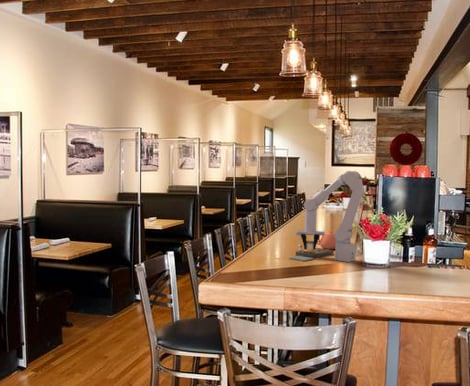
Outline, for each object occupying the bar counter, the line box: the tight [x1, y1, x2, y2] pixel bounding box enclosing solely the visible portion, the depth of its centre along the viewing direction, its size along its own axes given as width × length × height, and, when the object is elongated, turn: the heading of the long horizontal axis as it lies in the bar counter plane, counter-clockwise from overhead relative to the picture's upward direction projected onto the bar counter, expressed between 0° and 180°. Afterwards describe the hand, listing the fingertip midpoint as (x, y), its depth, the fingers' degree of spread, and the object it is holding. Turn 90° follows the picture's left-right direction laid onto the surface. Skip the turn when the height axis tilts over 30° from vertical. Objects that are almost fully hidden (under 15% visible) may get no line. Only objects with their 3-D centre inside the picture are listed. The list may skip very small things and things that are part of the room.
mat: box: [288, 255, 315, 262], centre depth 243 cm, size 9×8×1 cm
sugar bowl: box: [316, 230, 336, 250], centre depth 278 cm, size 12×14×10 cm
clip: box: [297, 243, 303, 252], centre depth 256 cm, size 2×10×3 cm, turn 177°
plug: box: [303, 240, 315, 253], centre depth 253 cm, size 6×6×8 cm
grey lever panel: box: [295, 247, 335, 259], centre depth 256 cm, size 10×20×2 cm, turn 136°
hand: (309, 249), depth 253 cm, fingers closed on plug, 4 cm apart
